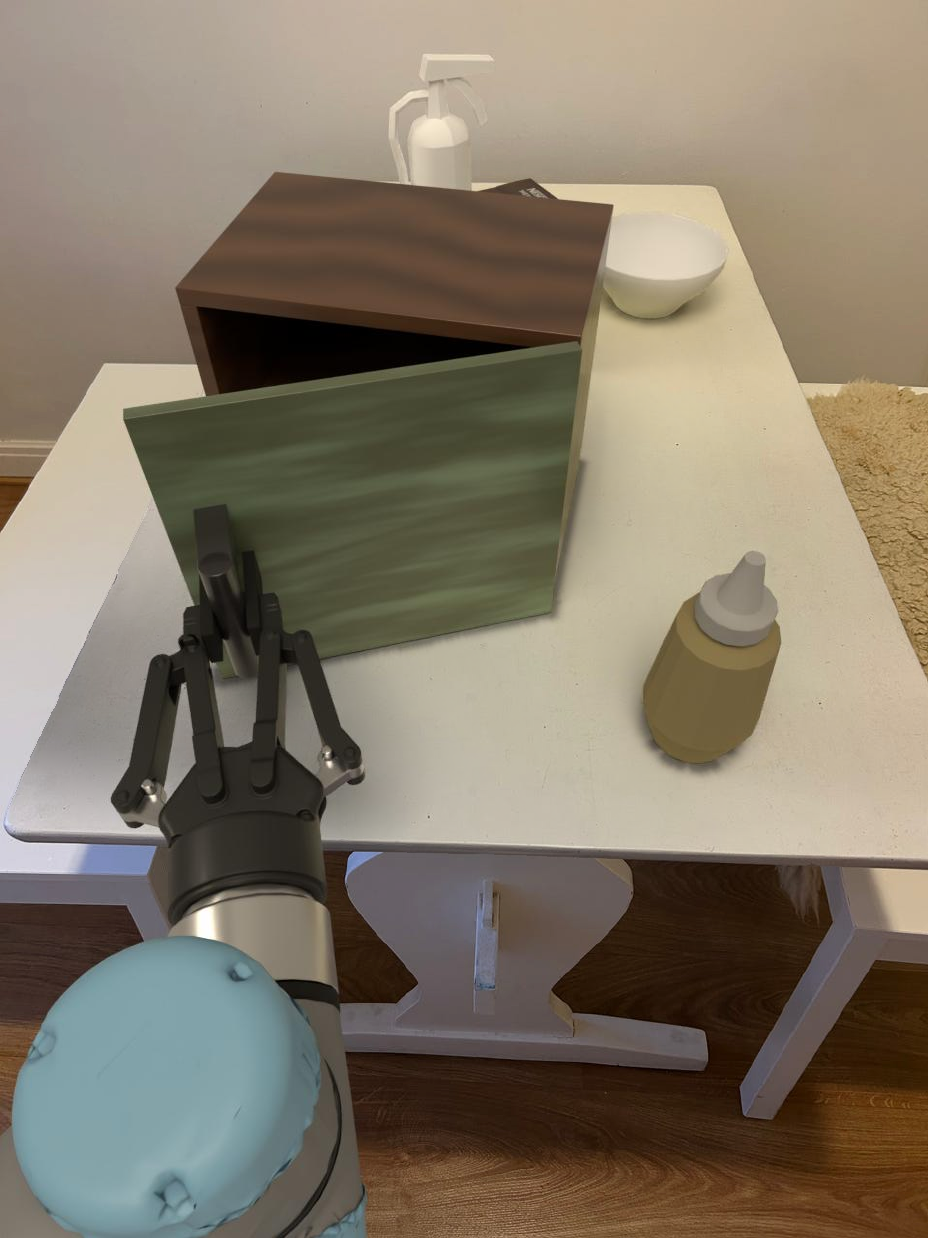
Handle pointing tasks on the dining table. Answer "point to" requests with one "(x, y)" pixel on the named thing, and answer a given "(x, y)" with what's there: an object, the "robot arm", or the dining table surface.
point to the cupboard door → (370, 497)
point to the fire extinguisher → (440, 123)
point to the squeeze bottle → (715, 665)
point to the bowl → (660, 262)
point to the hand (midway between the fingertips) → (230, 569)
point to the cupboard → (393, 284)
